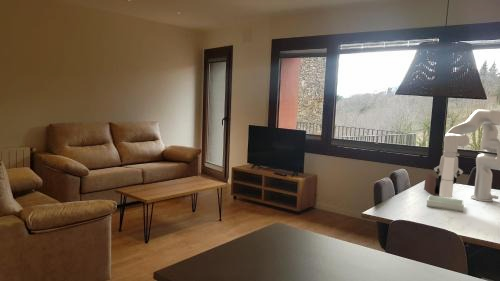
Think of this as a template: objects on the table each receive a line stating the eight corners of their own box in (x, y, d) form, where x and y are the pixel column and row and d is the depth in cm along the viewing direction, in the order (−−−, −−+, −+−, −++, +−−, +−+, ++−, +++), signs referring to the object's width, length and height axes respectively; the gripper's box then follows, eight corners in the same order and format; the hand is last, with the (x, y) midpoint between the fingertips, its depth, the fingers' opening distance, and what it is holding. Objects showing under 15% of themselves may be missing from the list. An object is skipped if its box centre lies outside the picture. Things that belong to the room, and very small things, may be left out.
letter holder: (433, 196, 263) (435, 176, 261) (423, 189, 282) (425, 170, 281) (448, 197, 262) (450, 177, 260) (437, 190, 281) (439, 171, 280)
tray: (462, 206, 238) (463, 200, 238) (463, 211, 226) (463, 205, 225) (427, 201, 247) (428, 195, 247) (426, 206, 235) (427, 200, 235)
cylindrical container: (451, 195, 238) (455, 156, 235) (452, 198, 231) (456, 158, 228) (439, 194, 240) (442, 155, 238) (439, 196, 234) (443, 157, 231)
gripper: (465, 155, 232) (462, 183, 234) (434, 152, 240) (431, 179, 242) (466, 156, 225) (463, 185, 227) (434, 153, 234) (431, 181, 236)
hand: (447, 182), depth 235 cm, fingers closed on cylindrical container, 7 cm apart
